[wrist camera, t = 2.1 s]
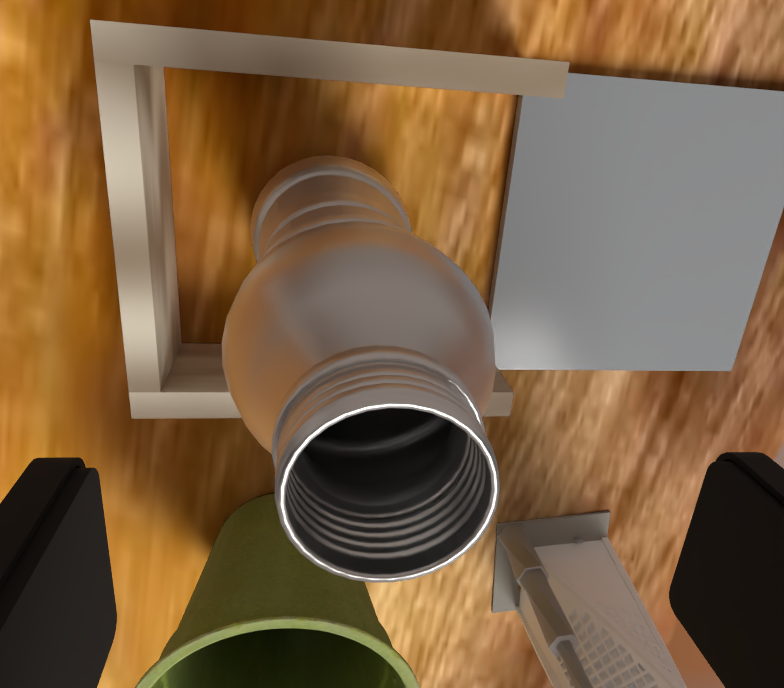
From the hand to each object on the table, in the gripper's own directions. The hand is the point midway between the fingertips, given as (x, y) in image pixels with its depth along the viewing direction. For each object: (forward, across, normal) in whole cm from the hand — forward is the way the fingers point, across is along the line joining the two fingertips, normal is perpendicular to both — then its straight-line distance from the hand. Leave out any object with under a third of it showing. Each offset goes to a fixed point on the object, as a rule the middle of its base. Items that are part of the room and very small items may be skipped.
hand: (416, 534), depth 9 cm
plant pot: (+21, +3, +18) cm, 27 cm away
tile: (+21, -14, 0) cm, 25 cm away
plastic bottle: (+21, +1, 0) cm, 21 cm away
